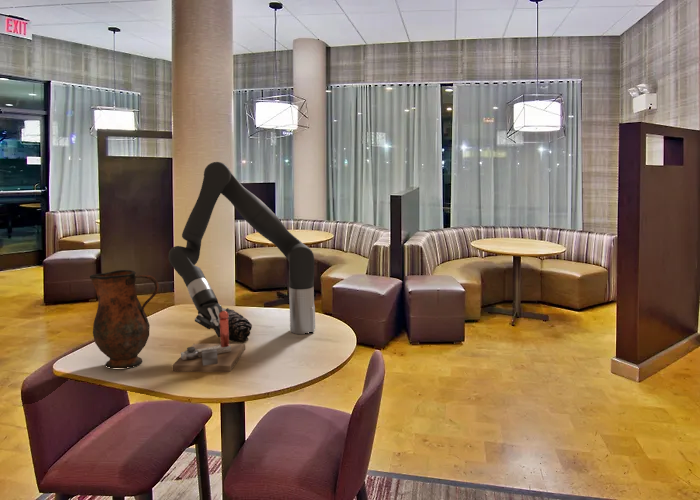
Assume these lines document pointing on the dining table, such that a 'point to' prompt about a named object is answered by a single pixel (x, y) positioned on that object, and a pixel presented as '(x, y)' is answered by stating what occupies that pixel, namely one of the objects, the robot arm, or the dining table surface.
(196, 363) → the base
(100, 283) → the pitcher
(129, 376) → the dining table surface
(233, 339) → the pine cone
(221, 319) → the lever
